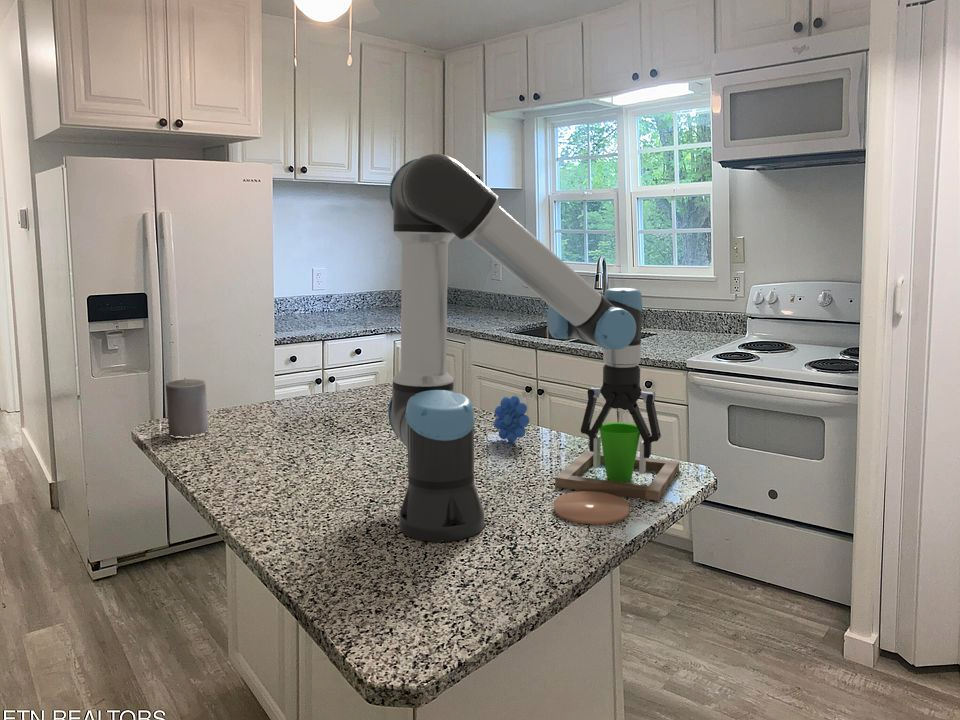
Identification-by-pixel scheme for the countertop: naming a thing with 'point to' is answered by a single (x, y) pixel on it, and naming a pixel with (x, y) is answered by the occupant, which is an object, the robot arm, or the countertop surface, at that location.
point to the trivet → (591, 507)
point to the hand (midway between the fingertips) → (619, 469)
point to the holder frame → (652, 492)
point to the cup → (619, 449)
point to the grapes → (511, 419)
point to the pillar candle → (187, 407)
